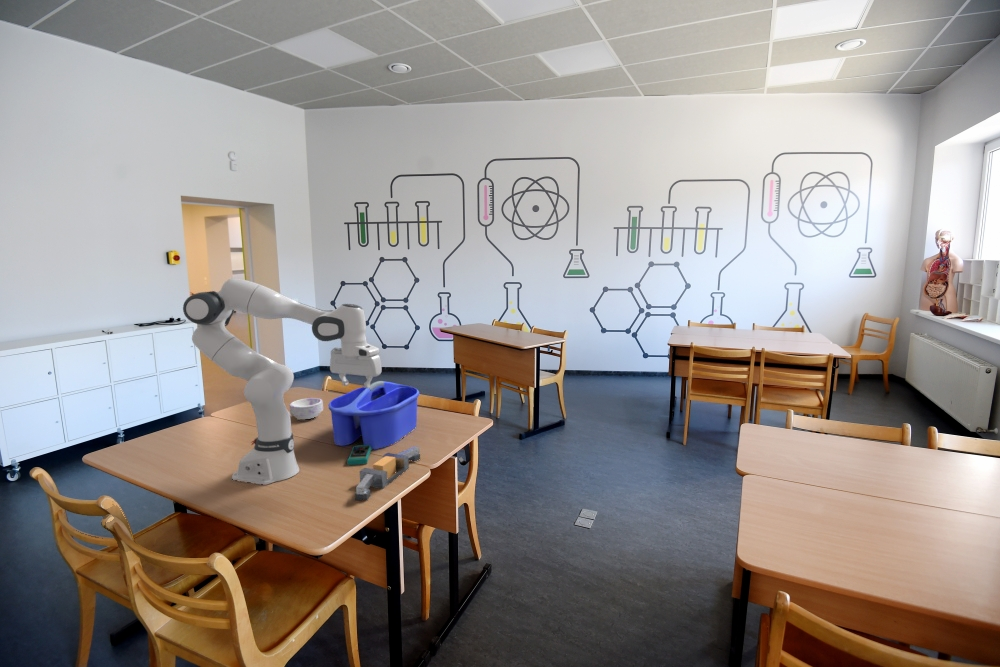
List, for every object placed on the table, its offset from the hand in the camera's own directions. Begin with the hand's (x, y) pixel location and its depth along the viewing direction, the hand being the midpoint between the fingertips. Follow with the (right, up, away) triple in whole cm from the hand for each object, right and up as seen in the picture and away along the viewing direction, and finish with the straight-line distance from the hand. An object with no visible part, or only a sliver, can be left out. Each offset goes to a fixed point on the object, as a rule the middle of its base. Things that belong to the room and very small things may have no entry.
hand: (356, 386), depth 183 cm
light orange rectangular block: (+11, -32, -4) cm, 34 cm away
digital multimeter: (-2, -30, +13) cm, 33 cm away
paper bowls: (-42, -22, +64) cm, 79 cm away
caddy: (-2, -25, +40) cm, 47 cm away
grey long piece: (+12, -32, -4) cm, 34 cm away
